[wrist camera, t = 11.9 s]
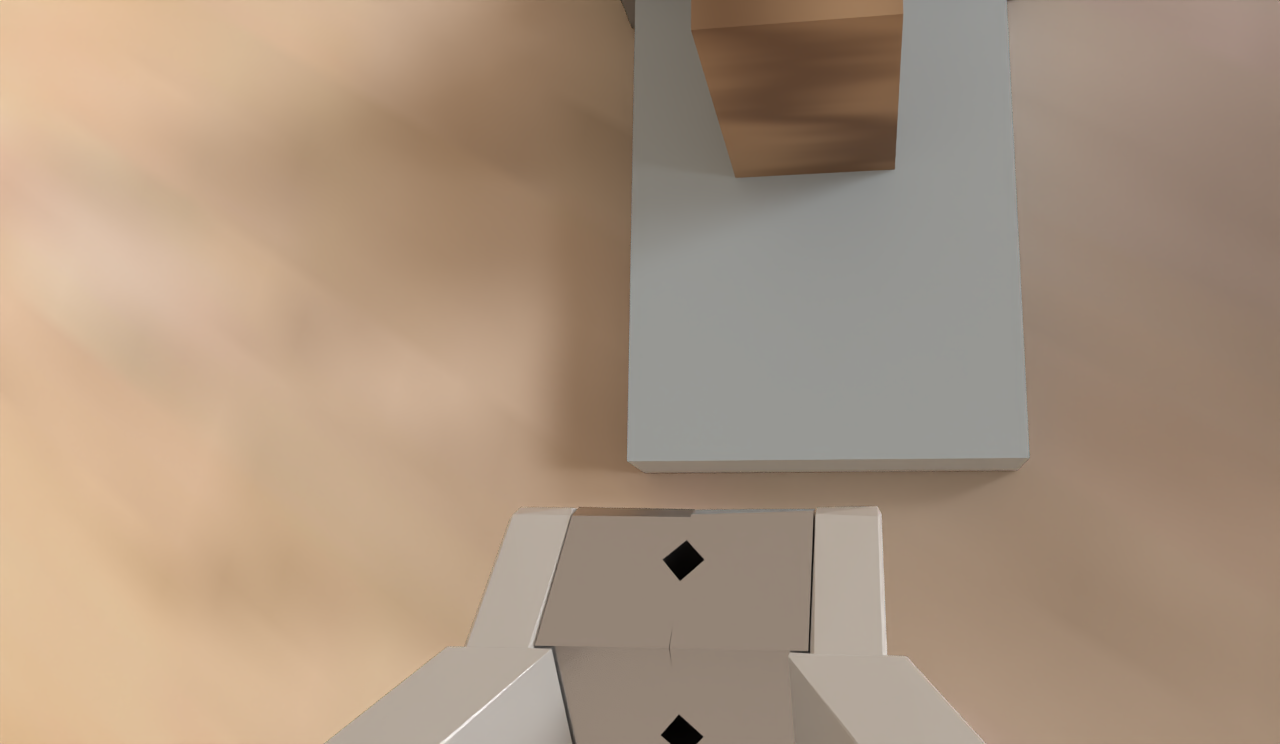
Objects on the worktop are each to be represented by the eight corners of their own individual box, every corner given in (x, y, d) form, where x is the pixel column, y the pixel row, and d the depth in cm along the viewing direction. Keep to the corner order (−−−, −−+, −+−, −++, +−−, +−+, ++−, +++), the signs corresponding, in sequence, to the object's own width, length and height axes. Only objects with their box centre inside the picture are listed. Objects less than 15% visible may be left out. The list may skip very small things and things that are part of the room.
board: (995, 5, 41) (1005, -41, 38) (1017, 470, 38) (1029, 457, 35) (650, 31, 44) (635, -11, 41) (644, 473, 40) (626, 461, 37)
